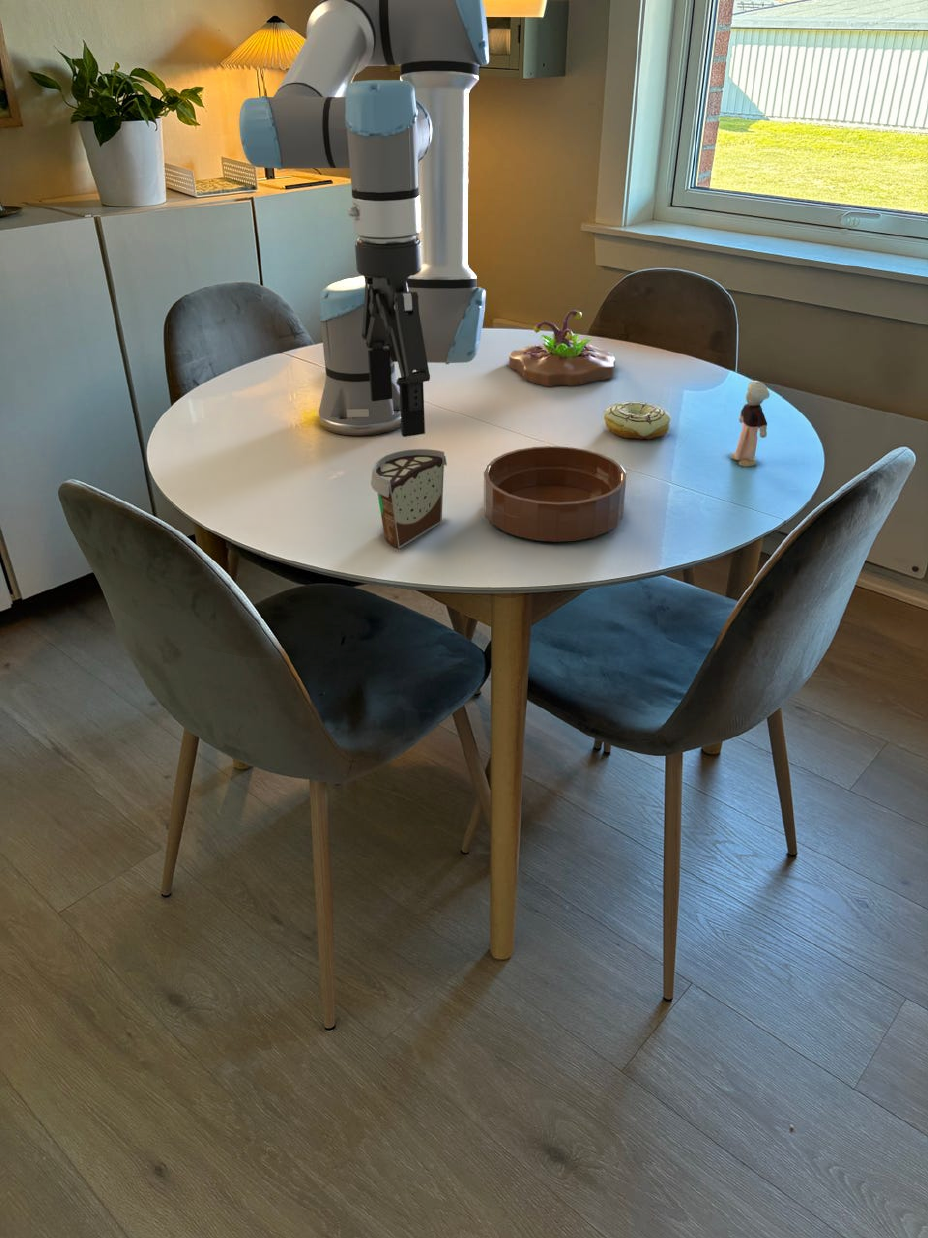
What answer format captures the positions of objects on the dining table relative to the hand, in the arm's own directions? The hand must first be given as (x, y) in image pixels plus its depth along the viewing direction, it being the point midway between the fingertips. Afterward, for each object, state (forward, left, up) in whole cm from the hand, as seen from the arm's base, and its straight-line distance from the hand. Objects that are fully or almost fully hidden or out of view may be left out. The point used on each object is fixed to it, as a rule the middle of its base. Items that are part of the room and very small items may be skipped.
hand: (396, 416), depth 117 cm
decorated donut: (-20, +47, -16) cm, 54 cm away
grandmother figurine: (-2, +56, -16) cm, 58 cm away
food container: (0, 0, -16) cm, 16 cm away
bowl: (+3, +21, -16) cm, 27 cm away
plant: (-54, +50, -16) cm, 75 cm away
